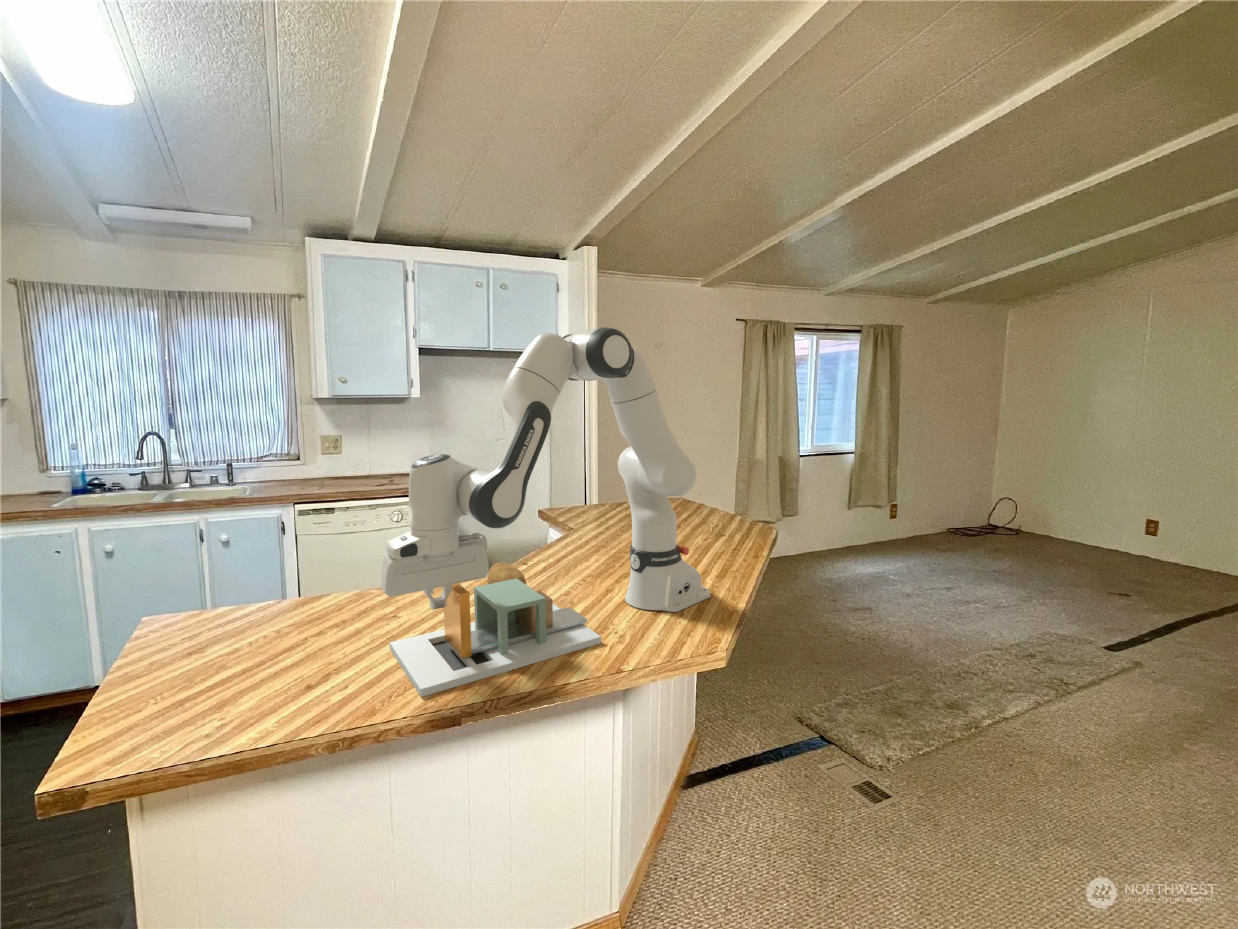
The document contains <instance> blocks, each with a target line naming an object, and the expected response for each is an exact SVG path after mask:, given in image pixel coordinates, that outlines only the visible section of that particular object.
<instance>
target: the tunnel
mask: <svg viewBox="0 0 1238 929" xmlns="http://www.w3.org/2000/svg"><path fill="white" fill-rule="evenodd" d="M536 591H537V590H534V588H531V587H530V586H529V585H528V584H527V583H526V584H524V583H523V582H521V581H520V580H518V579H517V578H516V579H511V580H506V581H502V582H497V583H492V584H488V583H487V584H483V585H479V586H474V587H473V595H474V596H473V599H474V601H473V603H474V622H475V630H479V629H483V628H487V627H491V626H495V625H498V652H499V653H500V654H501V655H503V654H507V653H508V622H511V621H515V610H517V609H521V608H526V607H530V606H534V605H536V639H537V642H538V643H539V644H543V643H546V598H545V597H543V596H542V595H540V594H539V593H538V592H536Z"/></svg>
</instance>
